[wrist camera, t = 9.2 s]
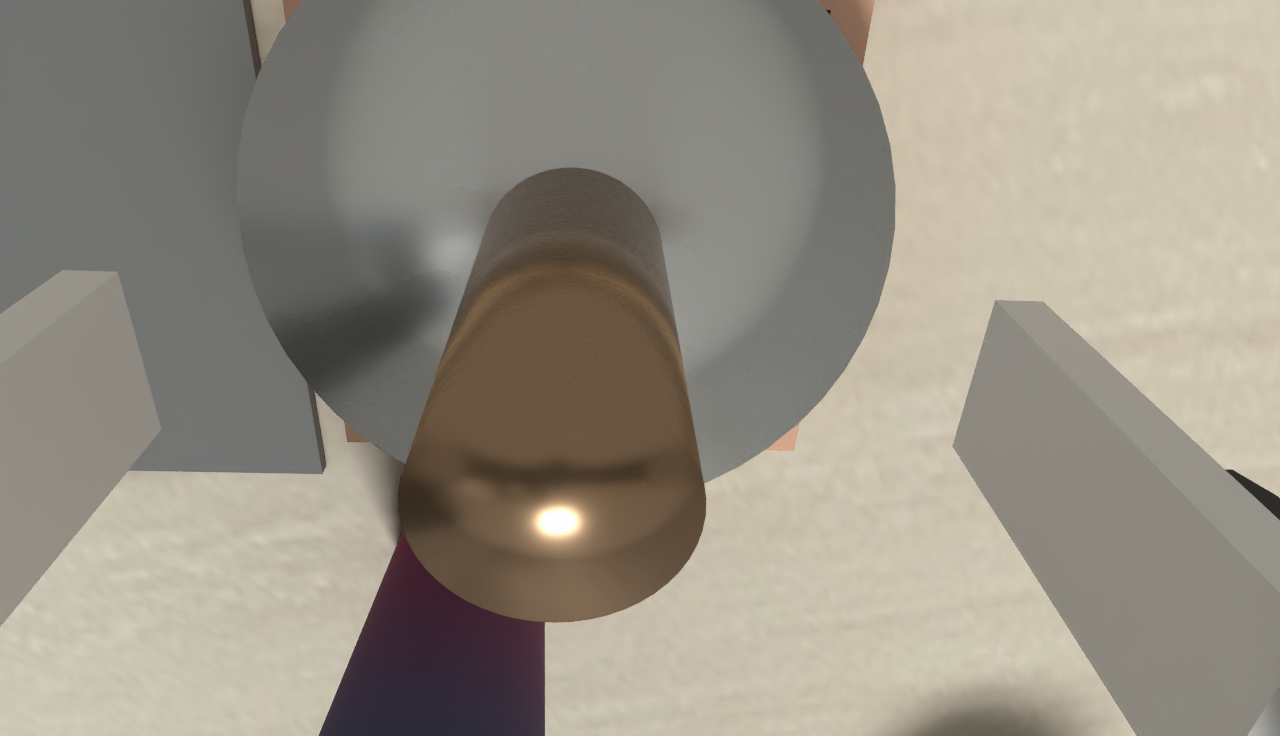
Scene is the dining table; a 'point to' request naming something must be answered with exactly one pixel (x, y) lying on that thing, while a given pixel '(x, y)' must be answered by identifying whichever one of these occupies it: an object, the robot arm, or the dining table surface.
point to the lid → (565, 263)
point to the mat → (151, 211)
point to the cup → (439, 665)
